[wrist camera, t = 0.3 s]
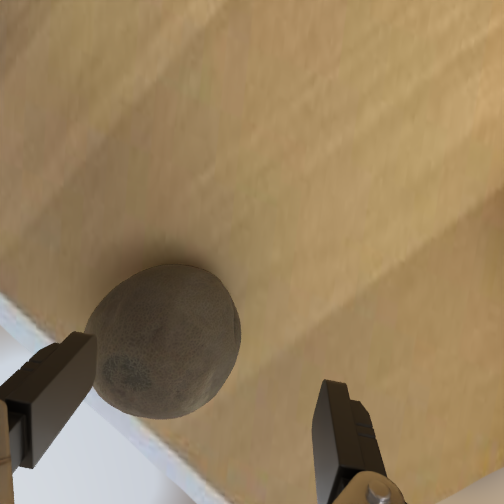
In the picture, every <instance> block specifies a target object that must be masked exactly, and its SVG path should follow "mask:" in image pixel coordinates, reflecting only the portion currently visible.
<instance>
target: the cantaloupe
mask: <svg viewBox="0 0 504 504" xmlns="http://www.w3.org/2000/svg"><path fill="white" fill-rule="evenodd" d="M84 333H86V334H91V335H96V337H97V365H96V377H95V380H94V383H93V387H94V389H95V390H96V392H97V393H98V395H99V396H100V397H101V398H102V399H103V400H104V401H106V402H107V403H108V404H110V405H111V406H113V407H115V408H117V409H118V410H120V411H122V412H124V413H126V414H130V415H133V416H137V417H144V418H149V419H173V418H178V417H182V416H184V415H187V414H190V413H192V412H194V411H195V410H197V409H199V408H200V407H202V406H203V405H205V404H206V403H207V402H209V401H210V400H211V399H212V398H213V397H214V396H215V395H216V394H217V393H218V391H219V390H220V388H221V387H222V386H223V384H224V383H225V381H226V379H227V378H228V376H229V374H230V373H231V371H232V369H233V367H234V365H235V362H236V359H237V356H238V352H239V348H240V342H241V325H240V319H239V316H238V312H237V310H236V307H235V305H234V303H233V300H232V298H231V296H230V294H229V292H228V290H227V289H226V288H225V287H224V285H223V284H222V282H221V281H220V280H219V279H218V278H217V277H216V276H214V275H213V274H211V273H209V272H207V271H205V270H202V269H199V268H196V267H192V266H187V265H161V266H156V267H152V268H149V269H146V270H144V271H142V272H139V273H137V274H135V275H133V276H132V277H130V278H128V279H127V280H125V281H123V282H122V283H120V284H119V285H118V286H116V287H115V288H114V289H113V290H112V291H111V292H110V293H109V294H108V295H107V296H106V297H105V298H104V299H103V300H102V301H101V302H100V304H99V305H98V306H97V307H96V309H95V310H94V311H93V313H92V315H91V316H90V318H89V320H88V323H87V325H86V328H85V331H84Z"/></svg>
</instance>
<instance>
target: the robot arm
mask: <svg viewBox="0 0 504 504" xmlns="http://www.w3.org/2000/svg"><path fill="white" fill-rule="evenodd" d="M96 365H97V337H96V335H91V334H86V333H81V332H76V331H74V332H72V333H71V334H70V335H69V336H68V337H67V338H66V339H65V340H64V341H63V342H62V343H61V344H59V343H53V344H51V345H49V346H47V347H44V348H42V349H40V350H39V351H38V352H37V353H36V354H35V355H34V356H32V358H30V359H29V362H26V363H25V364H24V365H23V366H22V367H21V369H20V370H17V371H16V372H15V373H14V374H13V375H12V376H11V377H10V378H9V379H8V380H7V381H6V382H4V383H3V384H2V385H1V386H0V504H14V491H13V477H12V474H13V472H14V471H15V470H16V469H17V467H18V466H20V467H25V468H30V469H33V468H34V467H35V465H36V464H37V463H38V461H39V460H40V458H41V457H42V456H43V454H44V453H45V452H46V450H47V449H48V448H49V446H50V445H51V443H52V442H53V440H54V439H55V438H56V436H57V435H58V434H59V432H60V431H61V430H62V428H63V427H64V426H65V424H66V423H67V421H68V420H69V419H70V417H71V416H72V415H73V413H74V412H75V410H76V409H77V407H78V406H79V405H80V404H81V402H82V401H83V399H84V398H85V397H86V395H87V394H88V393H89V391H90V390H91V388H92V386H93V383H94V380H95V377H96ZM372 427H373V426H372V422H371V419H370V415H369V413H368V412H367V410H366V409H365V408H364V406H363V405H362V404H361V402H360V401H355V400H350V397H349V393H348V388H347V385H346V383H341V382H336V381H331V380H326V379H324V380H323V382H322V385H321V389H320V393H319V397H318V400H317V404H316V408H315V412H314V415H313V421H312V443H313V455H314V466H315V478H316V490H317V502H318V504H407V503H406V502H405V500H404V497H403V495H402V493H401V491H400V490H399V488H398V487H397V486H396V485H395V484H394V483H393V482H392V481H391V480H390V479H388V478H387V475H386V471H385V468H384V464H383V461H382V457H381V454H380V450H379V447H378V443H377V440H376V439H375V437H376V436H375V433H374V429H373V428H372Z"/></svg>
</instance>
